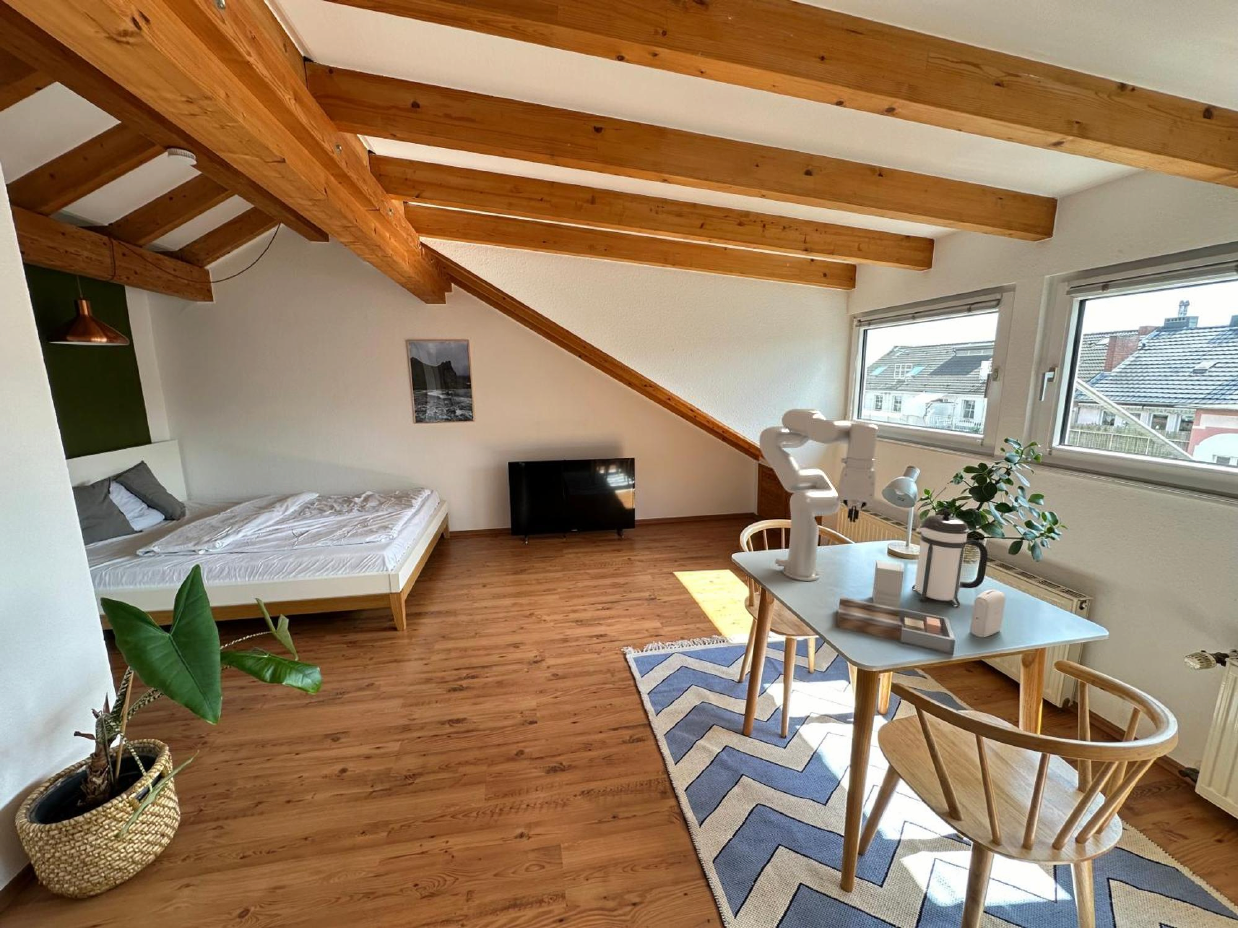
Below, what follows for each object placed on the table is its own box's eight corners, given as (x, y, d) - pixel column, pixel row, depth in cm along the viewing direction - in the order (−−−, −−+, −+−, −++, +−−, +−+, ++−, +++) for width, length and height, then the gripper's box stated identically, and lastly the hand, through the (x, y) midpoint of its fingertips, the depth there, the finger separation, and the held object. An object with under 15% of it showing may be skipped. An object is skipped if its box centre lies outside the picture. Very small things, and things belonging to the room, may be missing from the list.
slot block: (836, 626, 140) (838, 612, 139) (838, 609, 151) (840, 596, 150) (900, 640, 133) (902, 625, 132) (897, 622, 143) (899, 607, 143)
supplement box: (897, 600, 158) (901, 563, 156) (899, 610, 151) (904, 571, 149) (871, 595, 161) (876, 559, 159) (872, 605, 154) (877, 567, 152)
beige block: (903, 633, 135) (905, 623, 135) (903, 627, 139) (904, 617, 139) (922, 638, 133) (924, 628, 133) (921, 631, 137) (923, 621, 137)
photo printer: (983, 639, 135) (990, 597, 133) (967, 632, 138) (973, 591, 136) (1002, 631, 140) (1009, 590, 137) (986, 624, 143) (992, 585, 141)
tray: (900, 642, 132) (902, 628, 131) (897, 620, 144) (899, 608, 144) (953, 654, 127) (955, 640, 126) (945, 630, 139) (947, 617, 138)
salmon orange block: (927, 623, 132) (940, 626, 131) (926, 616, 136) (939, 619, 135) (925, 638, 133) (938, 641, 132) (924, 631, 137) (937, 634, 136)
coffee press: (945, 612, 150) (958, 519, 145) (898, 591, 165) (909, 506, 160) (981, 604, 156) (995, 514, 151) (933, 584, 171) (945, 502, 166)
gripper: (832, 462, 149) (825, 520, 152) (887, 468, 142) (879, 528, 146) (833, 459, 156) (827, 514, 159) (886, 464, 149) (879, 521, 153)
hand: (852, 520), depth 152 cm, fingers closed
